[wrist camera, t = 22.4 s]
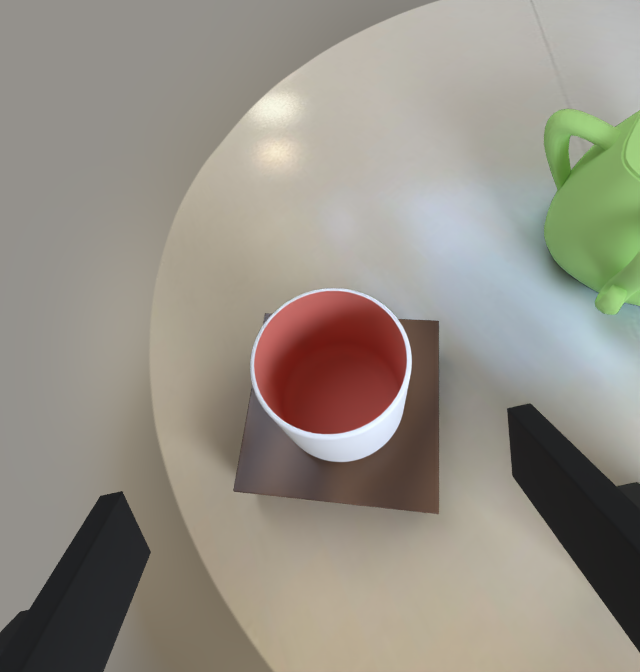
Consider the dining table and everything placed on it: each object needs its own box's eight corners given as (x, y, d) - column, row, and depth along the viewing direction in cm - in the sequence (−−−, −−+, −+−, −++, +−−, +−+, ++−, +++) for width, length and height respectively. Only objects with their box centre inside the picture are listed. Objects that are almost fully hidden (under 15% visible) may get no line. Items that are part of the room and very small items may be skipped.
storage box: (250, 495, 38) (233, 491, 34) (276, 335, 44) (264, 313, 40) (431, 516, 36) (438, 513, 31) (432, 343, 42) (438, 320, 38)
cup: (279, 465, 34) (243, 441, 25) (284, 348, 38) (254, 291, 29) (408, 463, 33) (419, 437, 24) (398, 343, 37) (405, 282, 28)
